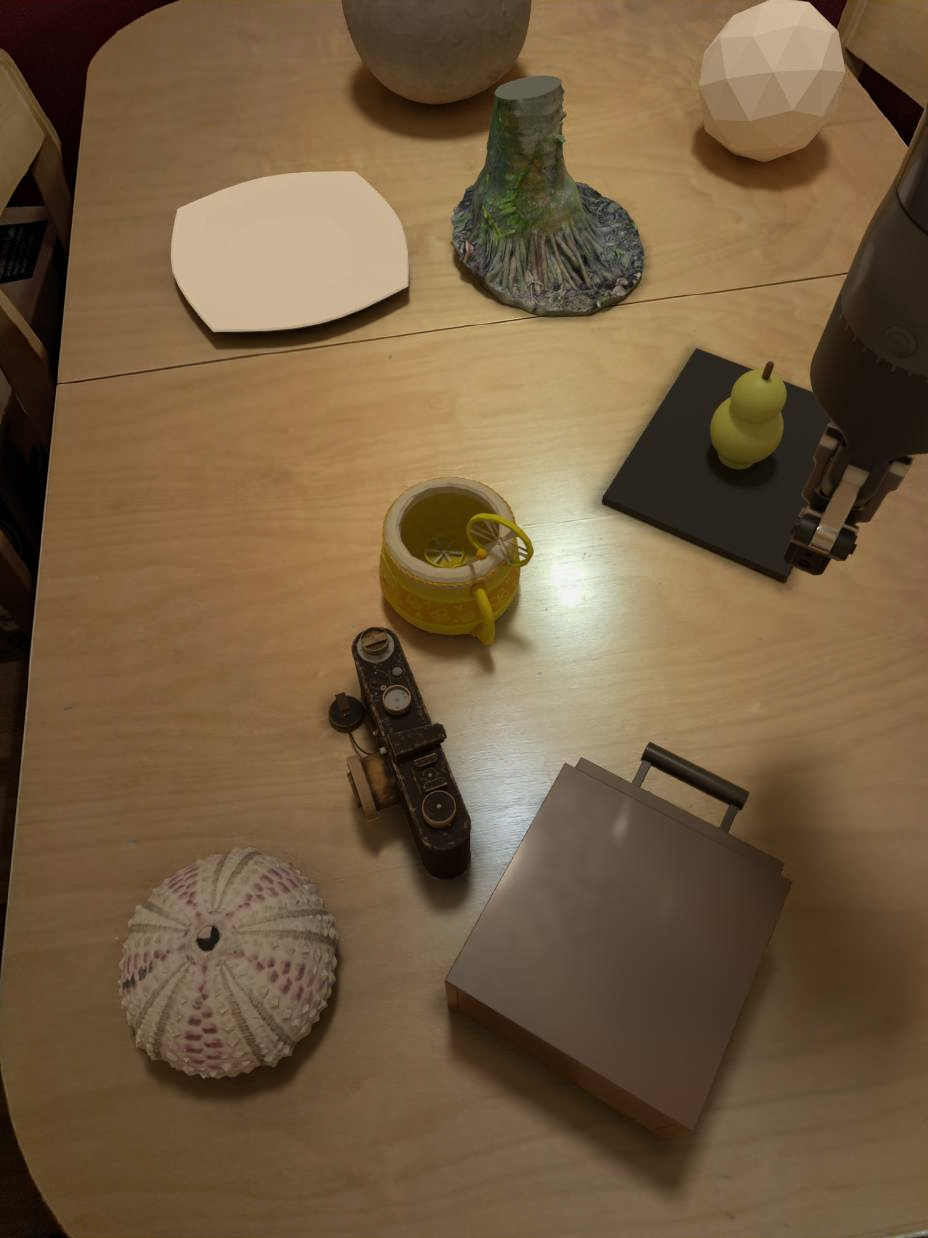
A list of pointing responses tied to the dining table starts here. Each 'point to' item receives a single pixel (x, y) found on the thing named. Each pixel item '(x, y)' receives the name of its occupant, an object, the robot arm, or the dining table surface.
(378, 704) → the camera
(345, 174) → the plate
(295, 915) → the sea urchin shell
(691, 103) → the dining table surface
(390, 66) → the bowl
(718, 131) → the geometric sphere
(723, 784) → the drawer
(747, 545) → the mat
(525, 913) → the cabinet
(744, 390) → the pear
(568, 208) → the tree stump
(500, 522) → the mug
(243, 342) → the dining table surface
